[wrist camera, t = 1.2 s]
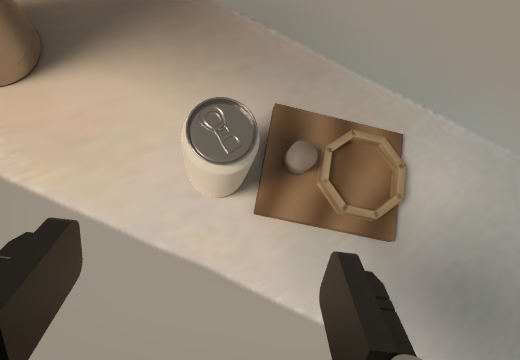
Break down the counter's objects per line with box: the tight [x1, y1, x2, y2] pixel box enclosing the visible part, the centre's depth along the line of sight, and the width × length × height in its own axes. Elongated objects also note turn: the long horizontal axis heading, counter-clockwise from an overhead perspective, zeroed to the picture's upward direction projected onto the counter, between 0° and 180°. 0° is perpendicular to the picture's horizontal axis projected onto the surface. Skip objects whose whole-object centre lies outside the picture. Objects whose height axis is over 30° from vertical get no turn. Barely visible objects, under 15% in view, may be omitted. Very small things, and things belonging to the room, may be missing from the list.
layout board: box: [254, 103, 406, 242], centre depth 38 cm, size 16×13×4 cm
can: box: [181, 97, 260, 198], centre depth 33 cm, size 6×6×12 cm
